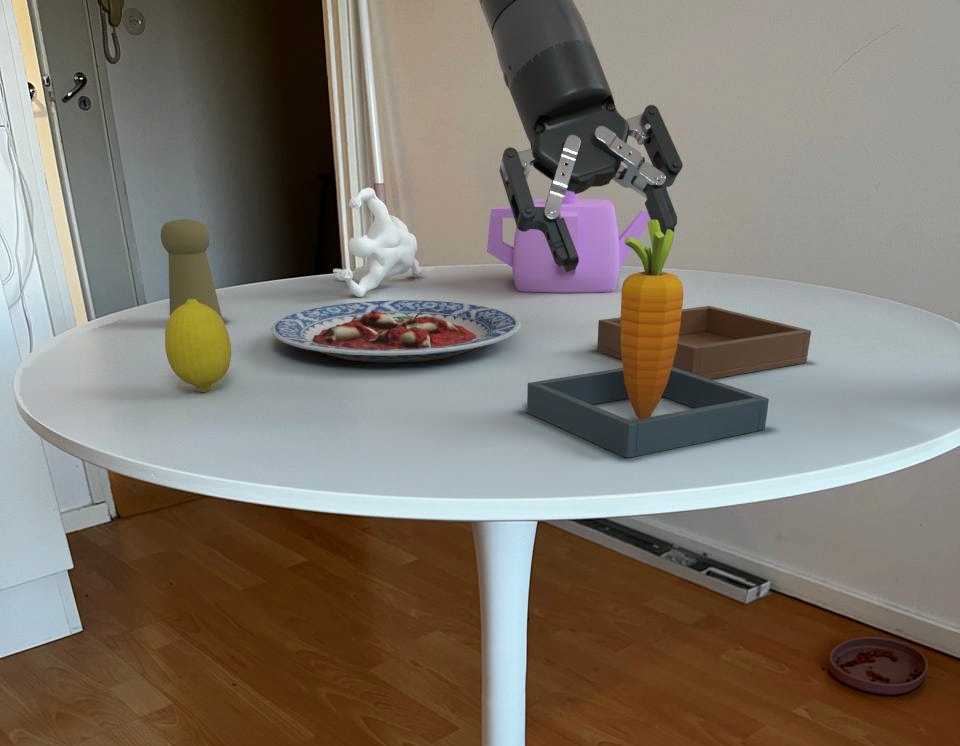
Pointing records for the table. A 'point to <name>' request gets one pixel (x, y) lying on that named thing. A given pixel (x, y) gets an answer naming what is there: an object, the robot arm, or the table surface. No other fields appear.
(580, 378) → the dark blue-gray square frame
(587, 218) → the teakettle
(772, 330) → the walnut tray
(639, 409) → the carrot
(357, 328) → the ceramic plate
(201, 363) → the lemon
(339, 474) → the table surface
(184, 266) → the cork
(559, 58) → the robot arm
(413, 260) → the person figurine
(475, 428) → the table surface
